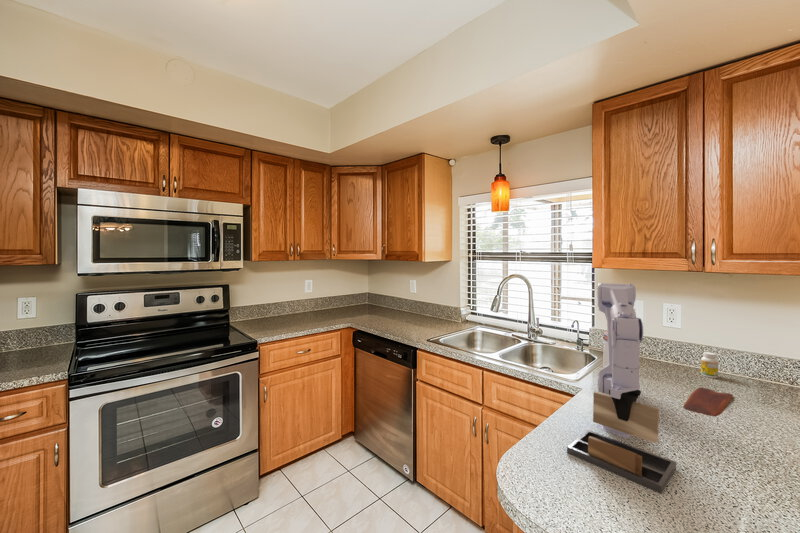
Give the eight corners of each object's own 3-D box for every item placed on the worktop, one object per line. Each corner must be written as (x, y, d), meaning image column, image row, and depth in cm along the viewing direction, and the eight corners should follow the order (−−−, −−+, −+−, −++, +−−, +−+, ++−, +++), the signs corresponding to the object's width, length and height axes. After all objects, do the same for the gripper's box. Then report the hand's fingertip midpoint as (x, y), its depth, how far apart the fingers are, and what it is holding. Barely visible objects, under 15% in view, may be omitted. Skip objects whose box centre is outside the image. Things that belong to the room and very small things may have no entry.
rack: (587, 437, 98) (587, 429, 98) (675, 471, 83) (676, 462, 83) (566, 455, 90) (567, 446, 89) (661, 496, 74) (661, 486, 74)
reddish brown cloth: (698, 389, 133) (698, 385, 133) (734, 397, 125) (734, 393, 125) (677, 409, 116) (677, 404, 116) (717, 420, 108) (717, 415, 108)
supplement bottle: (719, 379, 141) (720, 355, 141) (702, 376, 144) (703, 354, 143) (715, 374, 146) (716, 352, 145) (699, 372, 148) (699, 350, 148)
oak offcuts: (592, 453, 89) (593, 432, 89) (643, 474, 81) (643, 451, 80) (587, 458, 87) (587, 437, 87) (638, 480, 79) (639, 457, 78)
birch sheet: (595, 420, 93) (595, 390, 93) (658, 441, 83) (659, 408, 83) (593, 421, 93) (593, 392, 92) (656, 443, 82) (657, 410, 82)
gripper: (617, 356, 95) (616, 404, 95) (597, 367, 85) (596, 421, 86) (648, 362, 89) (647, 413, 90) (630, 375, 80) (628, 432, 81)
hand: (624, 418), depth 88 cm, fingers closed on birch sheet, 1 cm apart
